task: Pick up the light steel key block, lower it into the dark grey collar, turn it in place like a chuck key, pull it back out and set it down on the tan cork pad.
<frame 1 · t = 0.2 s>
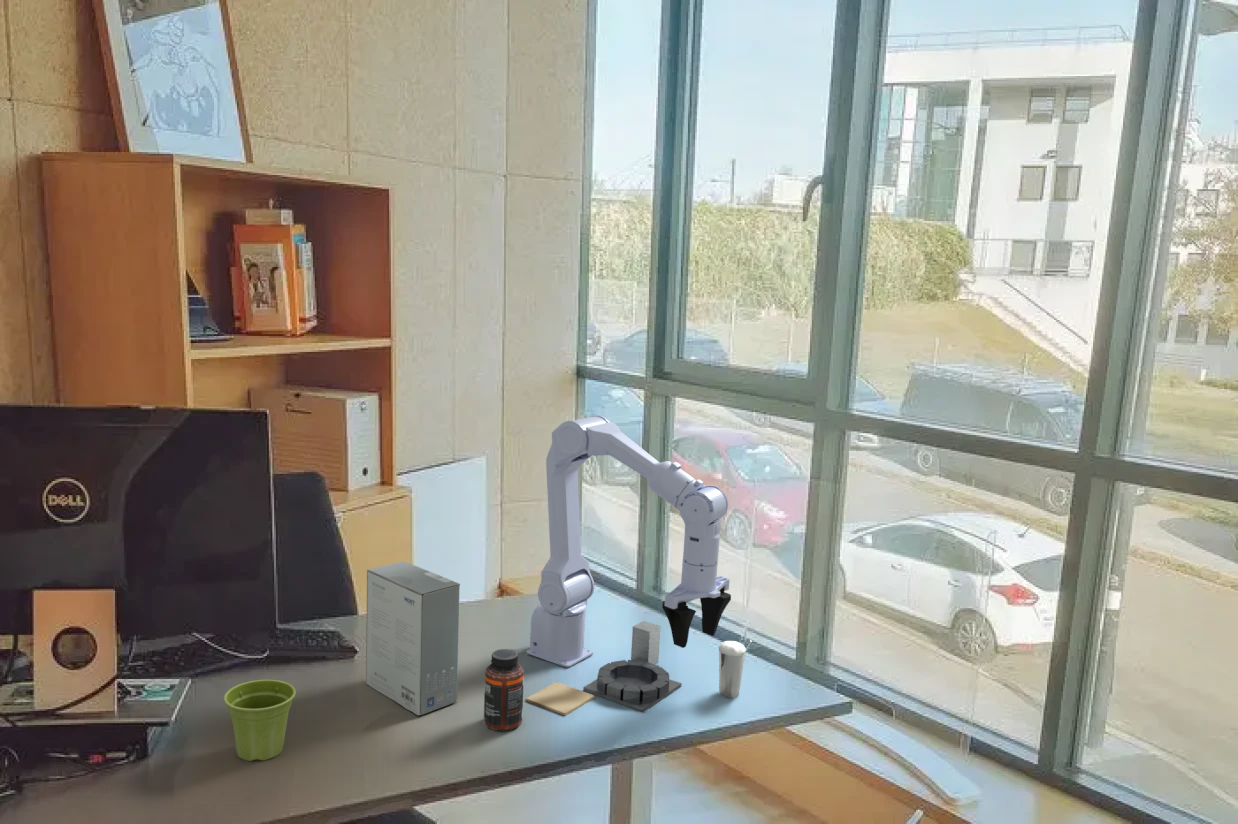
hand: (694, 639, 158), 10 cm above the table, tool pointing down, fingers open, 7 cm apart
hard drive box: (410, 694, 155), on the table
dark grey collar: (632, 688, 161), on the table
supplement bottle: (502, 724, 147), on the table
plant pot: (260, 752, 135), on the table
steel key: (644, 663, 172), on the table
milkshake: (731, 695, 161), on the table
cork pad: (560, 699, 156), on the table
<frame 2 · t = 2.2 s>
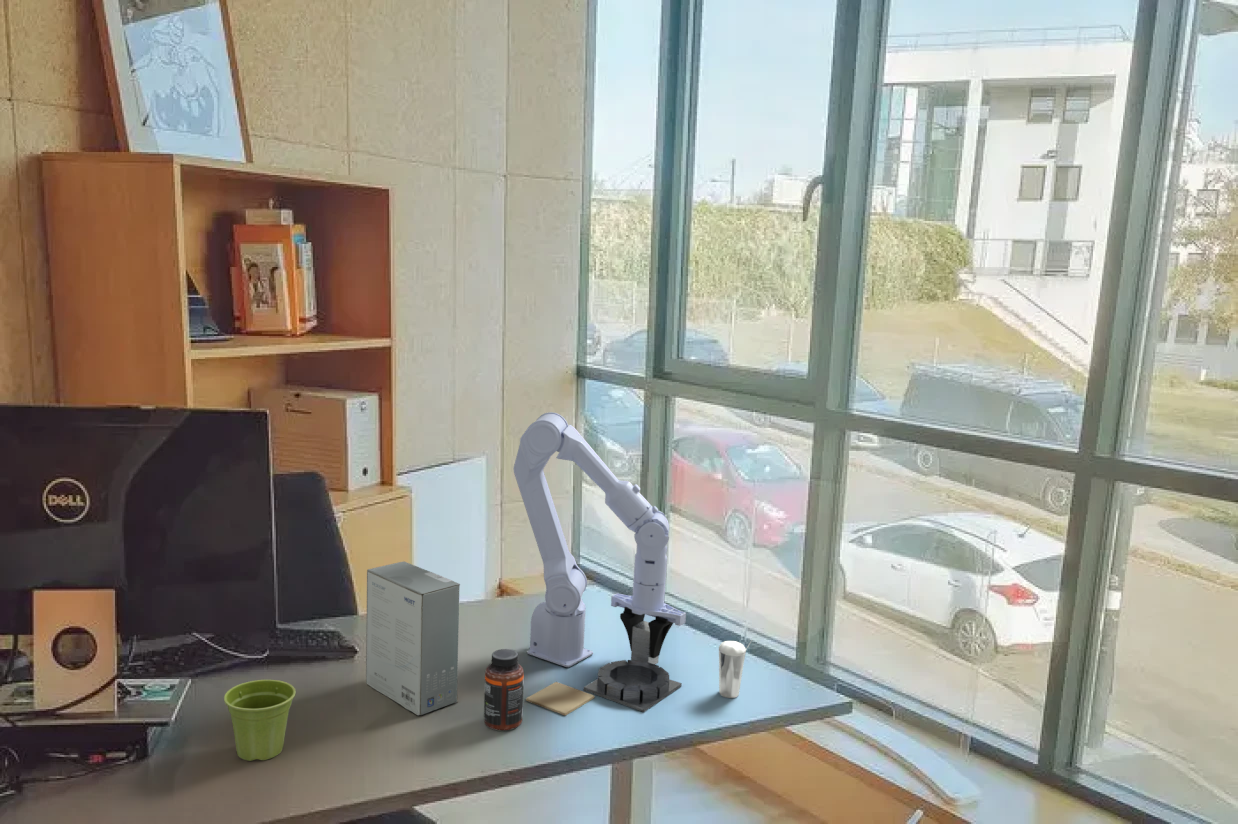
hand: (645, 652, 171), 2 cm above the table, tool pointing down, fingers closed on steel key, 4 cm apart
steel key: (644, 663, 172), on the table, touching gripper
everything else where it was.
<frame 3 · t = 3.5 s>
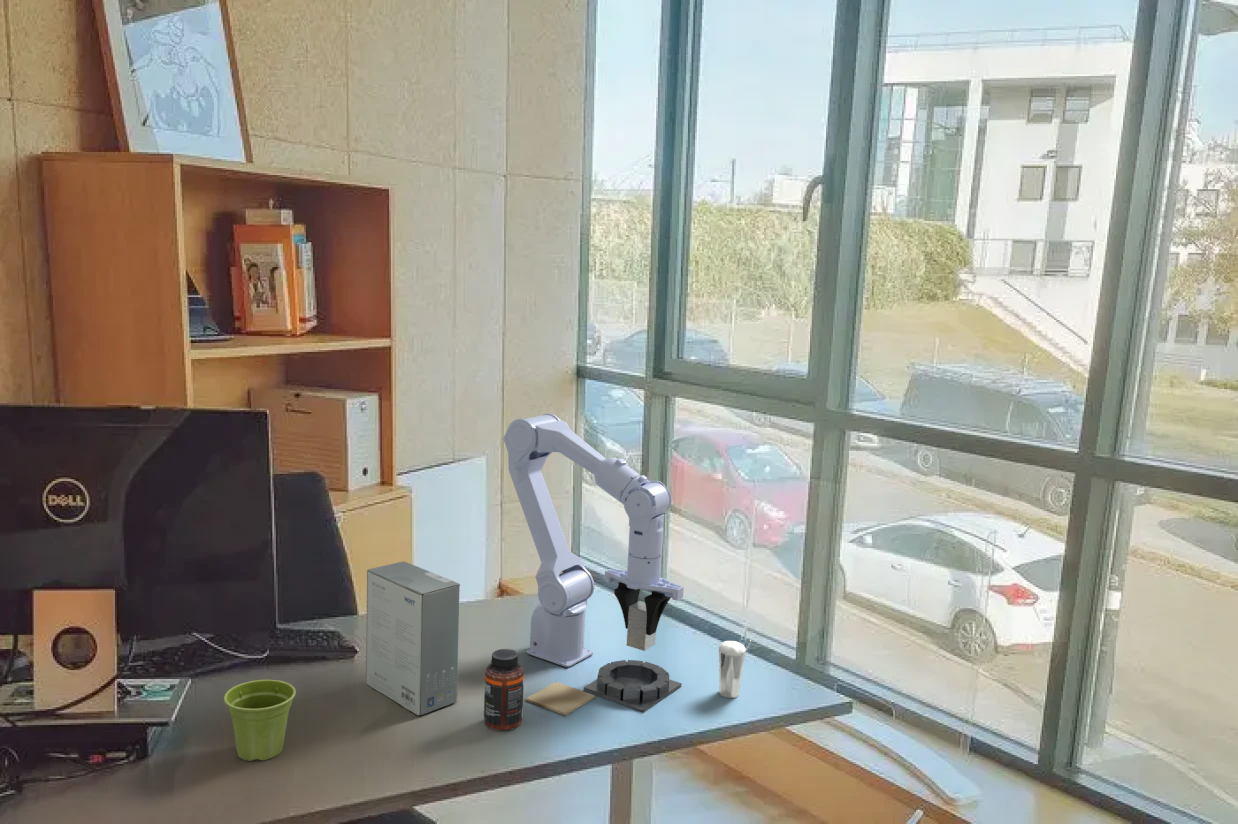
hand: (640, 630, 163), 9 cm above the table, tool pointing down, fingers closed on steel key, 4 cm apart
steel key: (640, 645, 164), point 6 cm above the table, touching gripper
everything else where it was.
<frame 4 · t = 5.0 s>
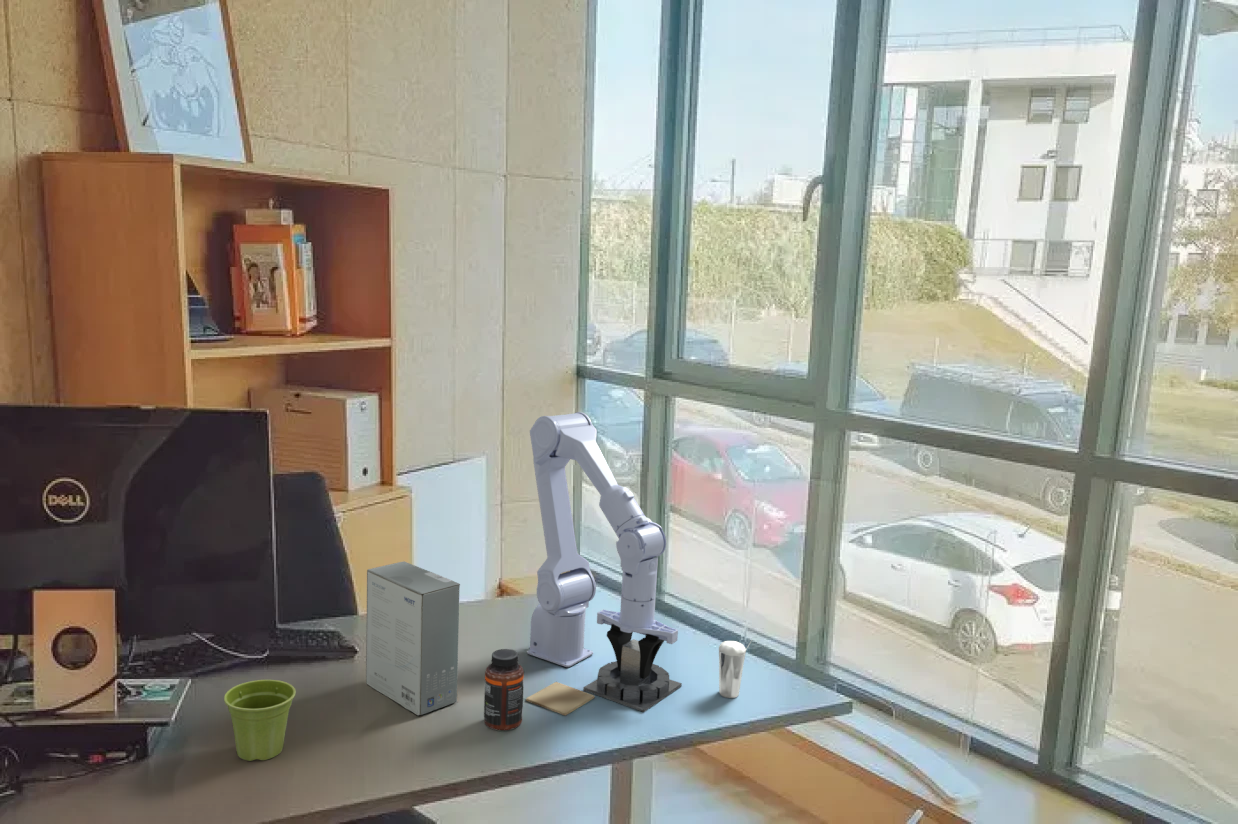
hand: (633, 672, 161), 3 cm above the table, tool pointing down, fingers closed on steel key, 4 cm apart
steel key: (634, 684, 161), point 1 cm above the table, touching gripper
everything else where it was.
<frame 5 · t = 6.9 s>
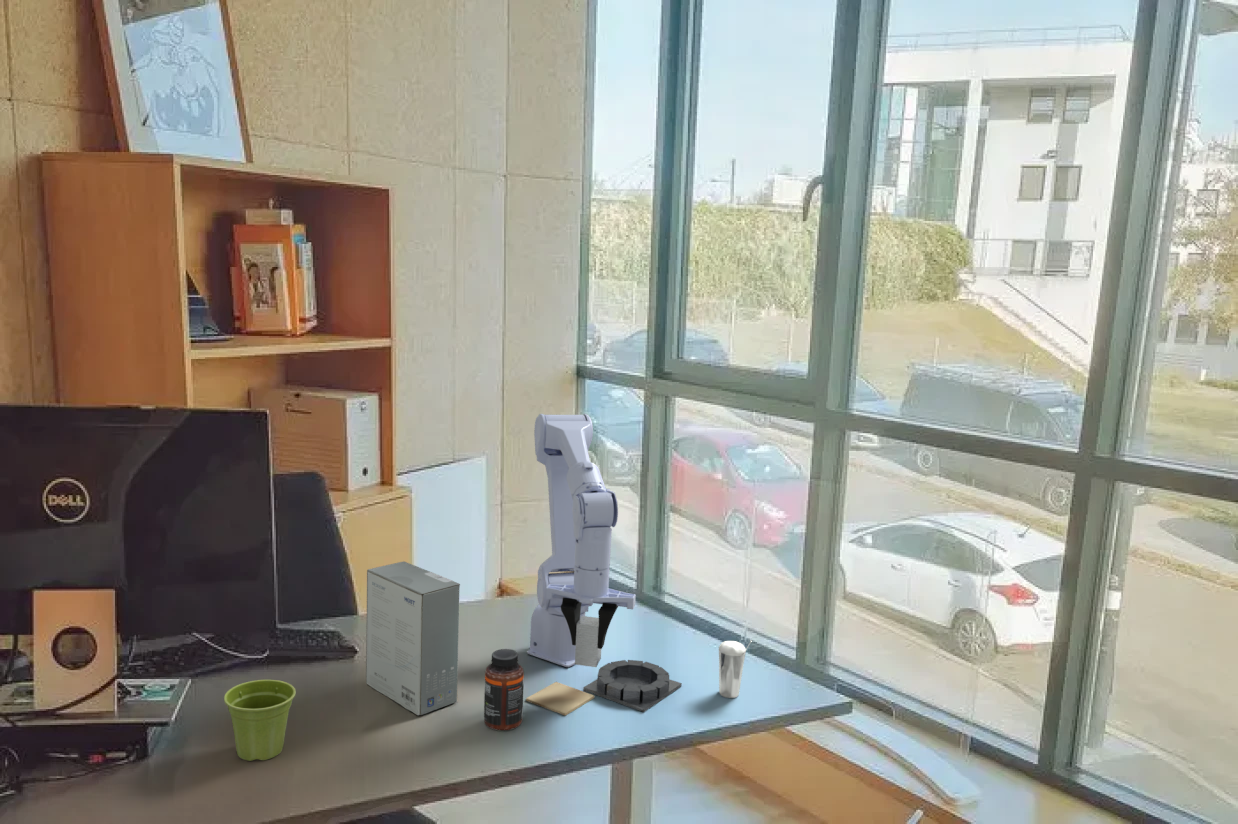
hand: (588, 644, 156), 9 cm above the table, tool pointing down, fingers closed on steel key, 4 cm apart
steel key: (587, 661, 157), point 6 cm above the table, touching gripper
everything else where it was.
when the fingers open (3 cm above the table, at t = 8.6 s): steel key stays where it is, resting on cork pad.
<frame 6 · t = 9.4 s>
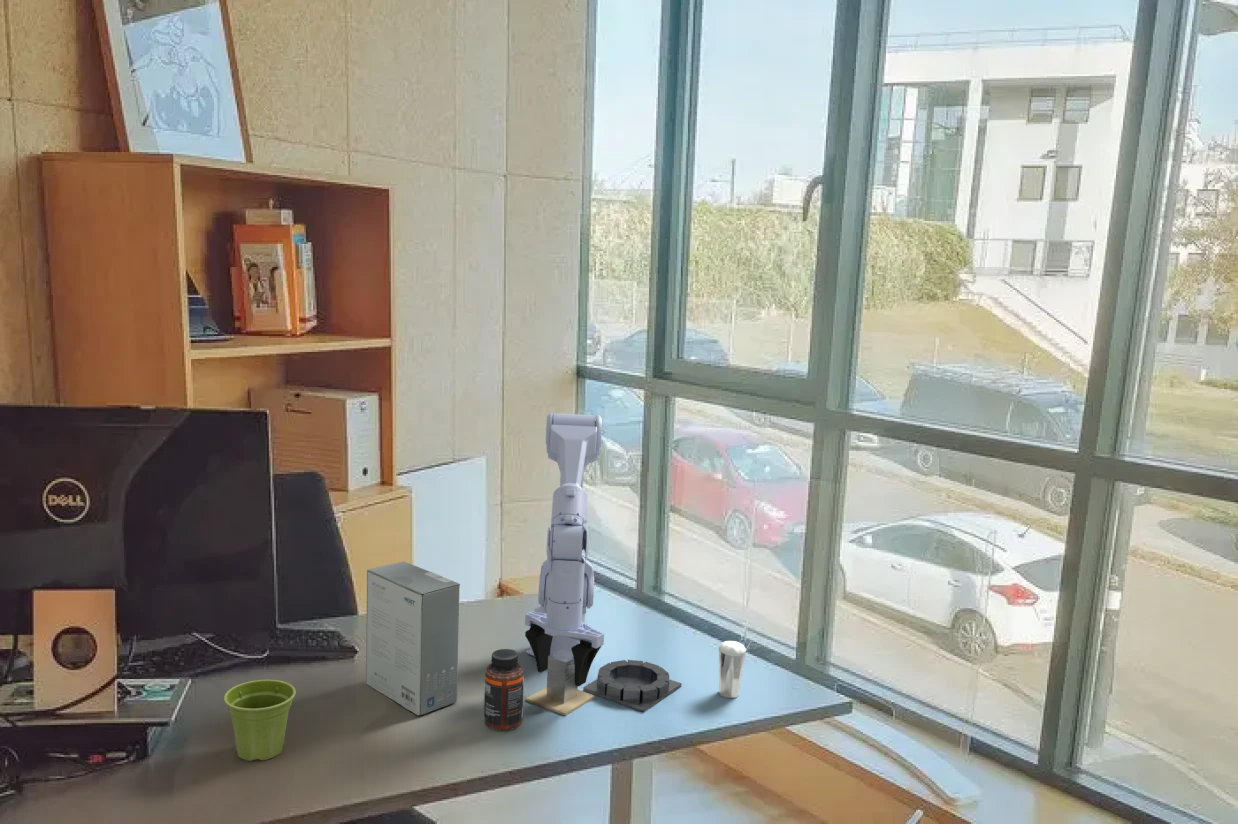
hand: (561, 677, 155), 4 cm above the table, tool pointing down, fingers open, 7 cm apart
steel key: (561, 696, 156), resting on cork pad
everything else where it was.
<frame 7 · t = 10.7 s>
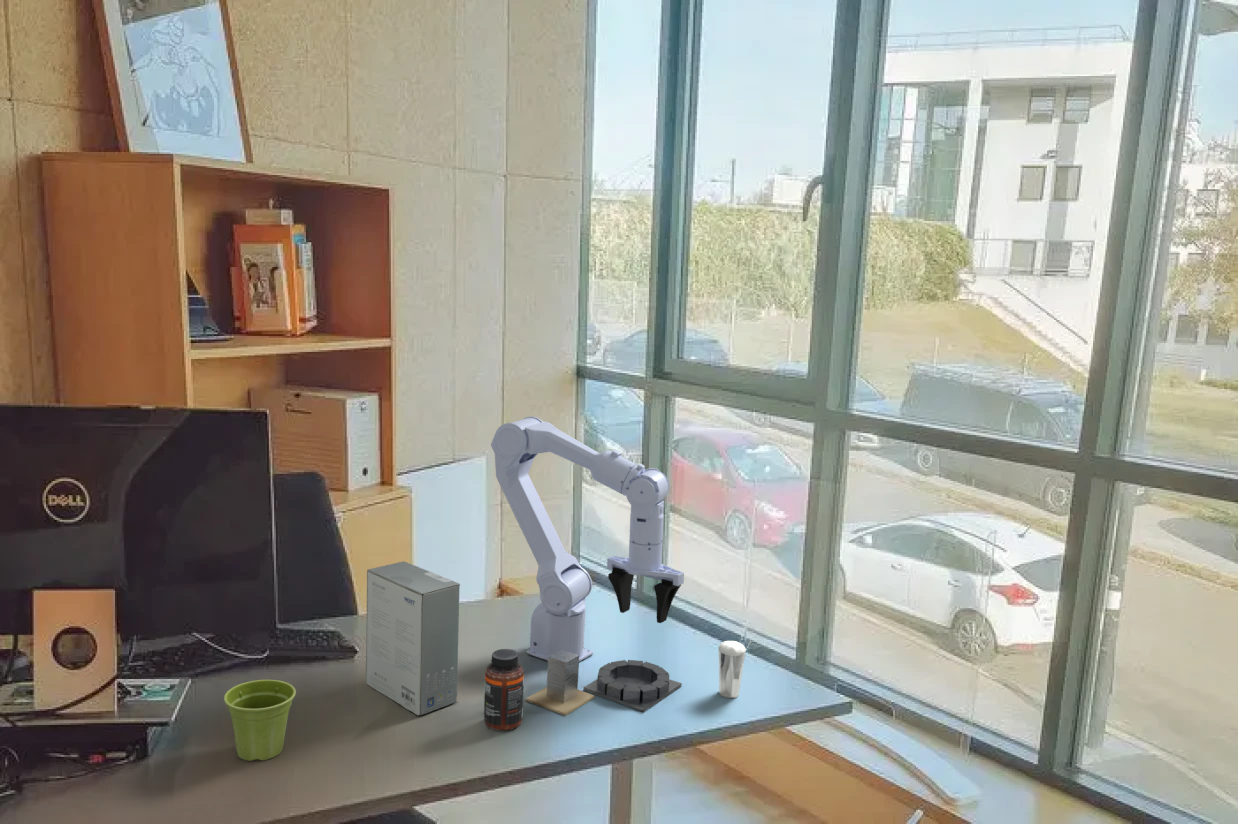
hand: (643, 616, 166), 10 cm above the table, tool pointing down, fingers open, 7 cm apart
nothing on the table moved.
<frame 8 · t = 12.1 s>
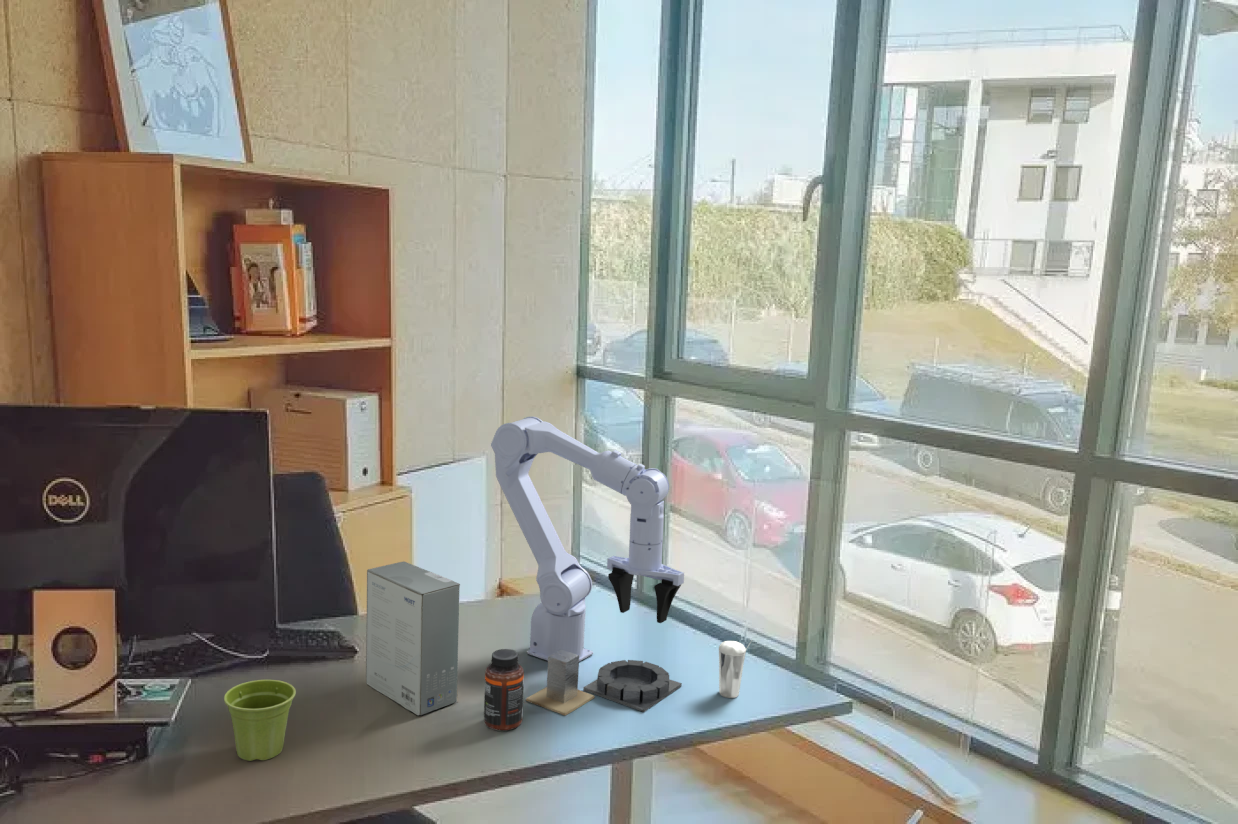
hand: (643, 616, 166), 10 cm above the table, tool pointing down, fingers open, 7 cm apart
nothing on the table moved.
at the end: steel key inside the target area on the cork pad (0.3 cm from its centre), point 0.4 cm above the cork pad's base; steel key tilted 0°; the gripper is holding nothing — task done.
